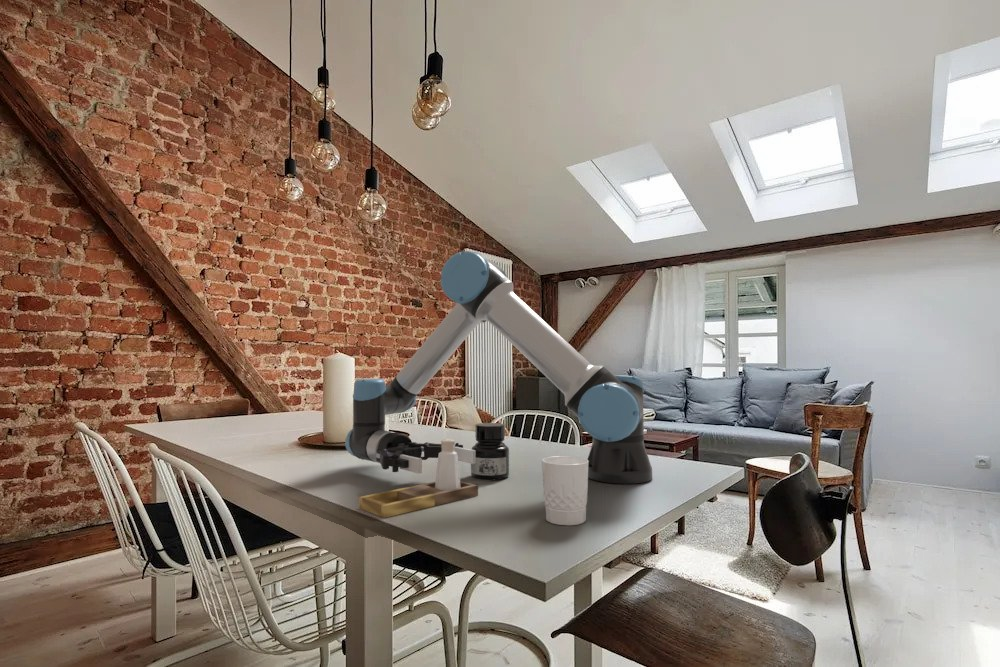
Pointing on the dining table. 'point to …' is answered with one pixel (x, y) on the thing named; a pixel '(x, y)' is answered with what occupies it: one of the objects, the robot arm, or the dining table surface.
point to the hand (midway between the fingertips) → (448, 461)
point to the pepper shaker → (447, 467)
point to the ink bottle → (490, 452)
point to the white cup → (565, 489)
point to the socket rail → (414, 498)
